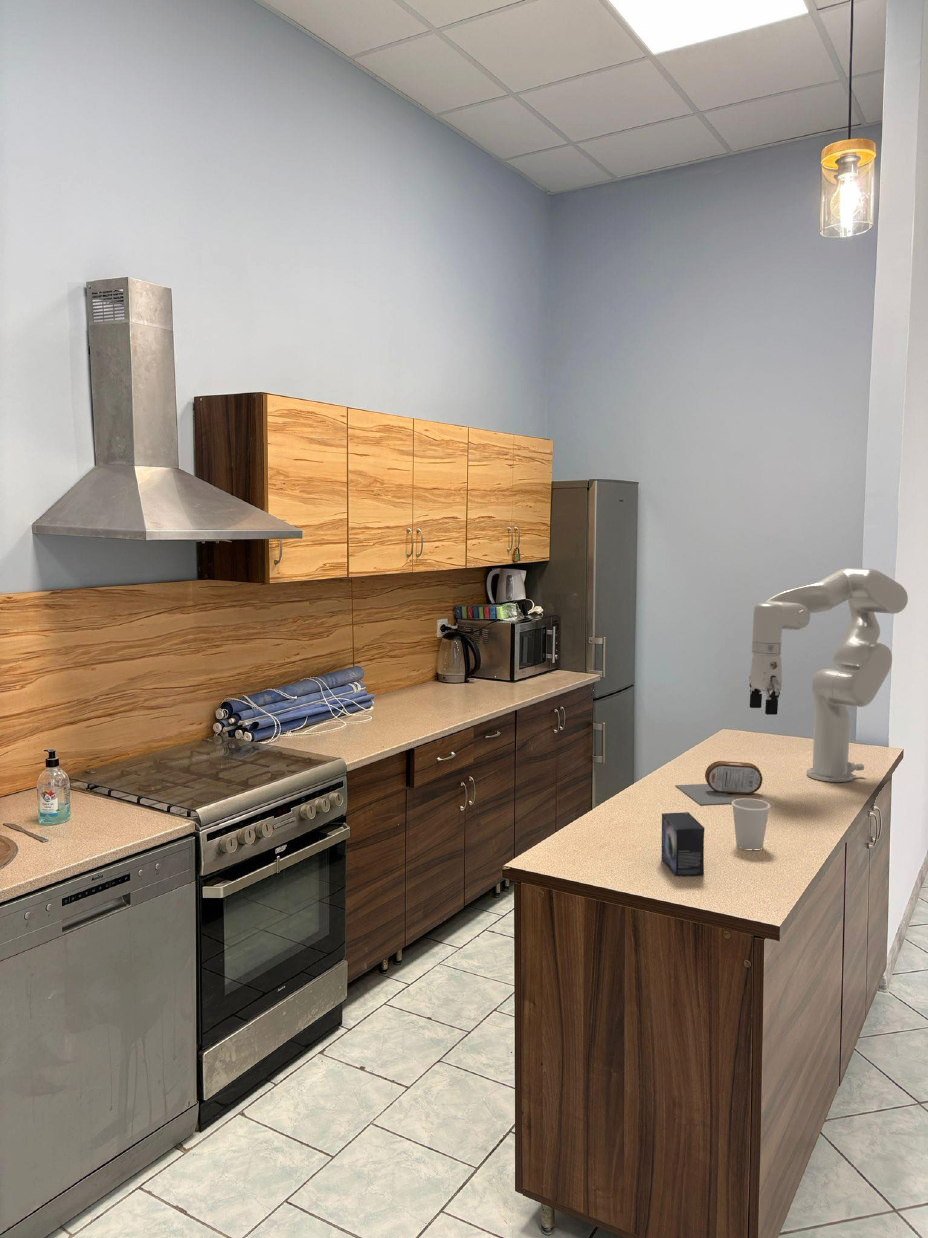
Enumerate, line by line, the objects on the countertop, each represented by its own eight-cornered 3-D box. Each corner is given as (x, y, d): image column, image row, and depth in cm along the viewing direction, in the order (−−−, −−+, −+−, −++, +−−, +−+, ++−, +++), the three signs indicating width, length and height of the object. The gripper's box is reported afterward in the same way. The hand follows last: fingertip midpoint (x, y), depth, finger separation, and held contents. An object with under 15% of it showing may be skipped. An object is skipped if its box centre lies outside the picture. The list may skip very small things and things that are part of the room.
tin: (759, 792, 247) (762, 762, 246) (762, 796, 244) (764, 765, 243) (703, 789, 248) (705, 759, 248) (705, 792, 245) (707, 762, 244)
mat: (712, 784, 255) (712, 783, 255) (740, 803, 237) (740, 802, 237) (675, 786, 253) (675, 785, 253) (700, 805, 235) (700, 804, 235)
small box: (659, 859, 197) (659, 812, 196) (688, 858, 198) (689, 811, 197) (674, 877, 187) (675, 828, 186) (704, 876, 187) (706, 827, 186)
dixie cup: (763, 855, 199) (765, 811, 198) (725, 848, 203) (727, 805, 202) (772, 844, 206) (774, 801, 205) (736, 838, 210) (737, 796, 210)
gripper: (794, 652, 237) (791, 717, 238) (765, 645, 254) (762, 705, 255) (767, 652, 236) (763, 717, 237) (739, 645, 253) (736, 705, 254)
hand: (763, 711), depth 246 cm, fingers open, 9 cm apart
